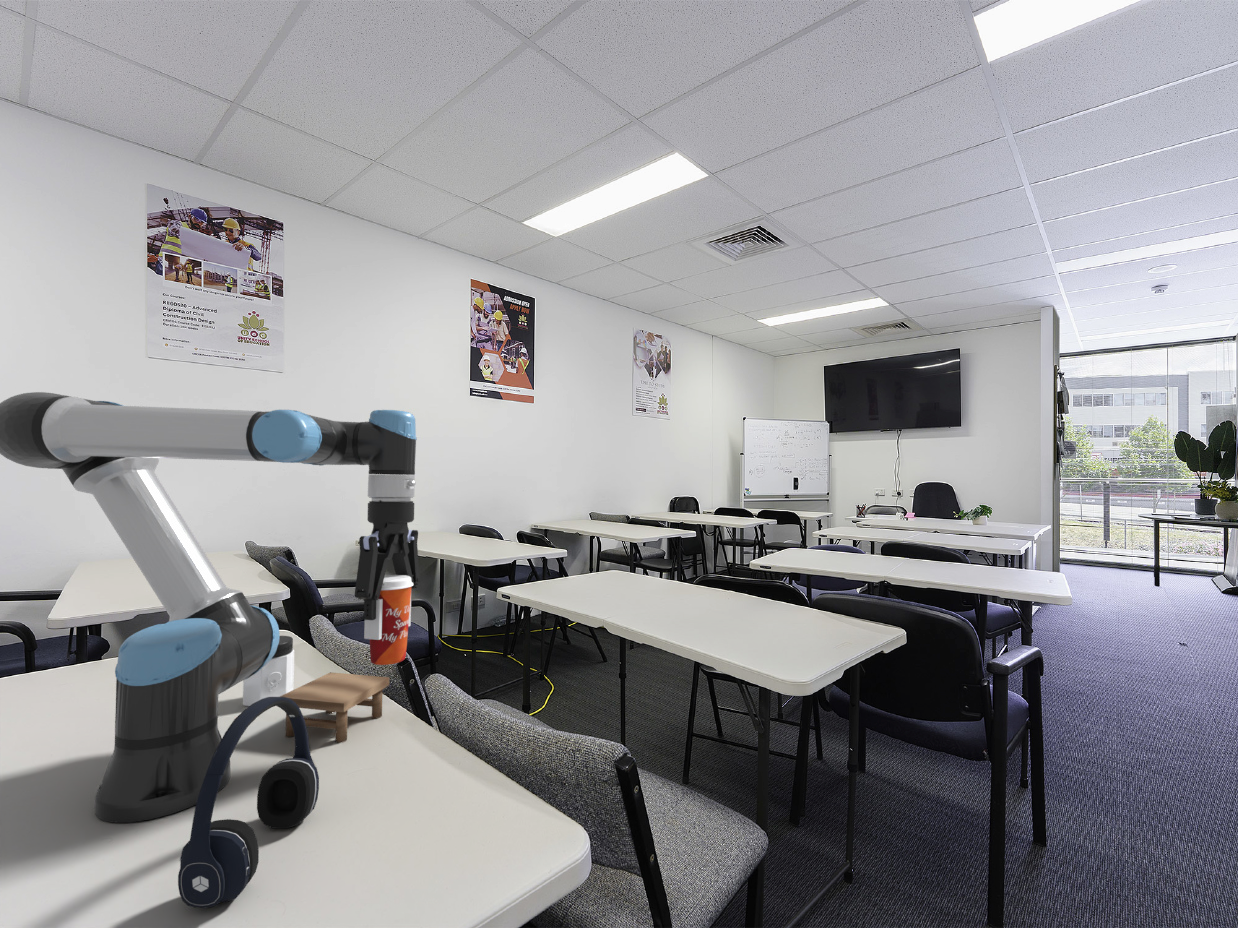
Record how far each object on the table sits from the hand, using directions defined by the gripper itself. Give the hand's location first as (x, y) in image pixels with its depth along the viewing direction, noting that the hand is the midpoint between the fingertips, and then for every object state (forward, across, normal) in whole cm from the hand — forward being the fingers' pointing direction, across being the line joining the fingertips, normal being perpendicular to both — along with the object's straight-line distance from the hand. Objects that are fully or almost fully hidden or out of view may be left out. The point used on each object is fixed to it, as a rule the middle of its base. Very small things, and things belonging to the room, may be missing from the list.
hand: (388, 631), depth 97 cm
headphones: (+19, -29, -2) cm, 35 cm away
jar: (+19, +12, +35) cm, 42 cm away
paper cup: (+5, 0, 0) cm, 5 cm away
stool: (+19, +4, +13) cm, 24 cm away
